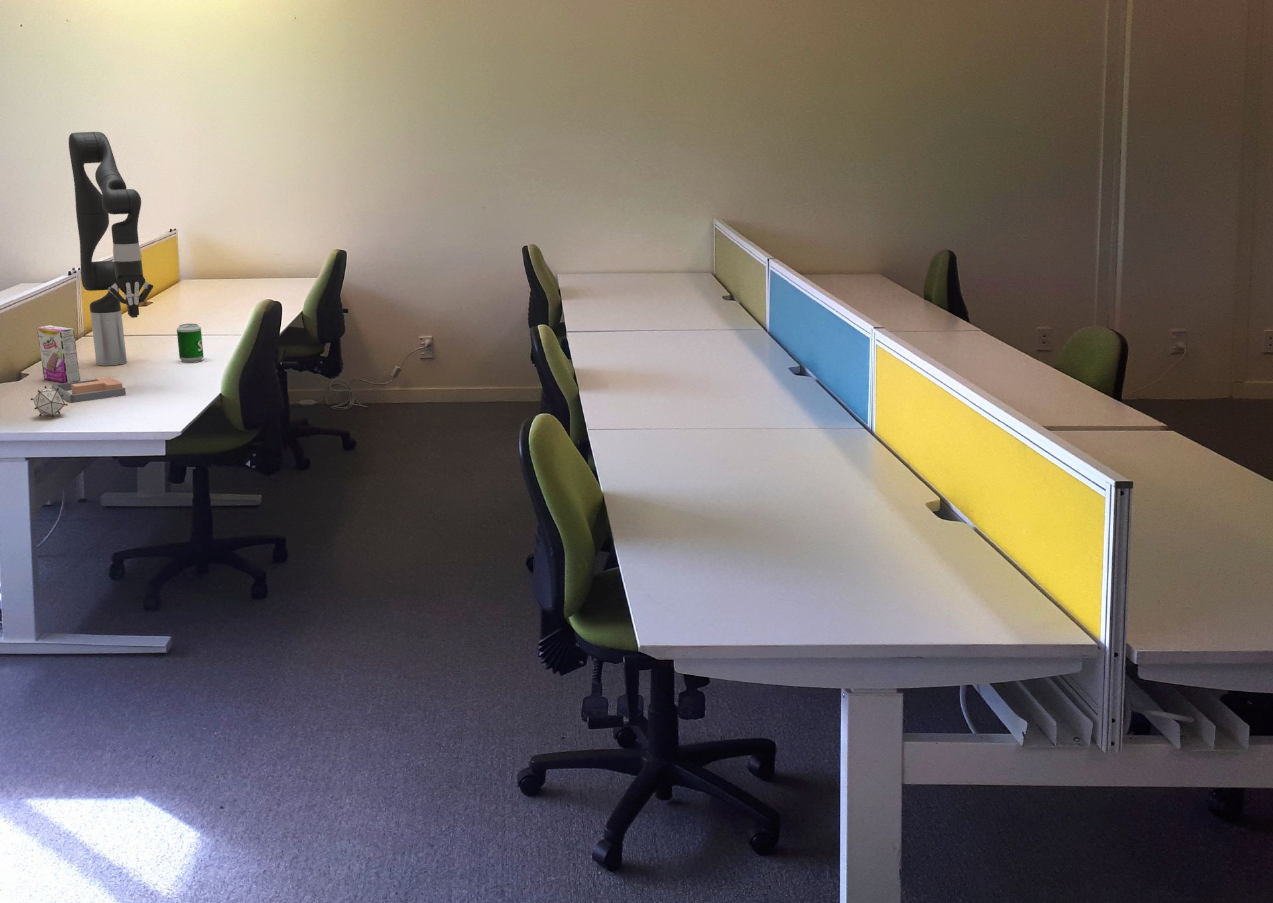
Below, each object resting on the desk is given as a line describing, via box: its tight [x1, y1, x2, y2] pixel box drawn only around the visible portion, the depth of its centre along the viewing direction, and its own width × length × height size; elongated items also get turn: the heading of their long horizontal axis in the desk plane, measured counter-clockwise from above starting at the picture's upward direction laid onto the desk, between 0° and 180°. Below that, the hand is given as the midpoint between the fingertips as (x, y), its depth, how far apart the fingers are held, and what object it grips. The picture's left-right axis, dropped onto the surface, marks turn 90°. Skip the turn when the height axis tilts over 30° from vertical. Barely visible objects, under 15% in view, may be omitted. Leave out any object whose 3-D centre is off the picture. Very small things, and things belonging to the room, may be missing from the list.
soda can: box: [176, 323, 204, 364], centre depth 401 cm, size 8×8×12 cm
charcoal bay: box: [51, 378, 127, 403], centre depth 357 cm, size 18×16×2 cm
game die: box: [30, 385, 69, 419], centre depth 330 cm, size 9×8×10 cm
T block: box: [71, 376, 124, 395], centre depth 358 cm, size 12×12×3 cm
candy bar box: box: [36, 324, 81, 384], centre depth 371 cm, size 11×5×16 cm, turn 62°
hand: (133, 317), depth 361 cm, fingers closed
